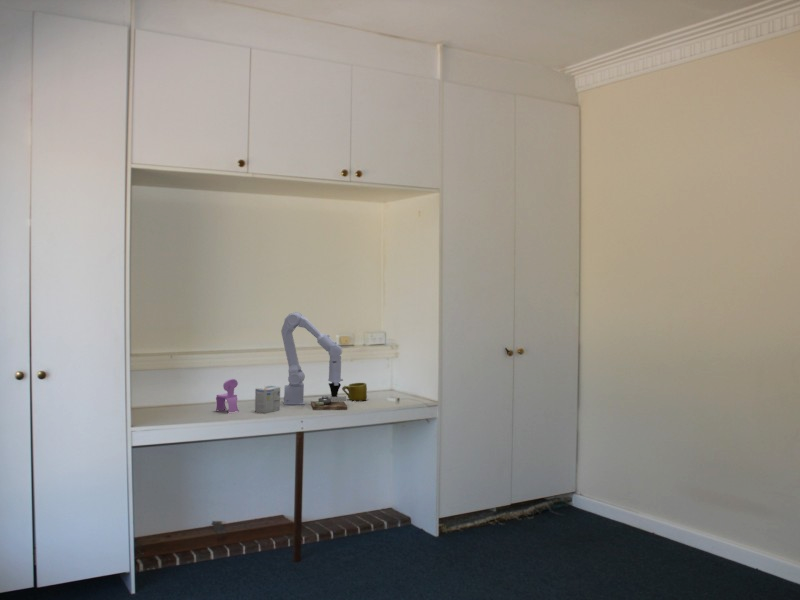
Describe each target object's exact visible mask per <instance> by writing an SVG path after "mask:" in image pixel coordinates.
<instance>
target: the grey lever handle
mask: <svg viewBox="0 0 800 600" xmlns="http://www.w3.org/2000/svg"><path fill="white" fill-rule="evenodd" d="M331 401H344V402H346V401H347V395H346V396H343V395H341V396H339V395H337V396H327V395H323V396H321V397H319V398H318V402H324V405H326V404H331Z"/></svg>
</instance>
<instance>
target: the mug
mask: <svg viewBox="0 0 800 600" xmlns="http://www.w3.org/2000/svg"><path fill="white" fill-rule="evenodd" d="M341 390H342V392H344V393H345V394H346V396H347V398H348V399H349V400H350V401H354V402H355V401H356V402H357V401H358V402H363V401H366V400H367V397H368V395H367V392H368V391H367V390H368V388H367V383H365V382H355V383H350V384H348V385H343V386H342V387H341ZM346 390H347V391H346Z"/></svg>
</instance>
